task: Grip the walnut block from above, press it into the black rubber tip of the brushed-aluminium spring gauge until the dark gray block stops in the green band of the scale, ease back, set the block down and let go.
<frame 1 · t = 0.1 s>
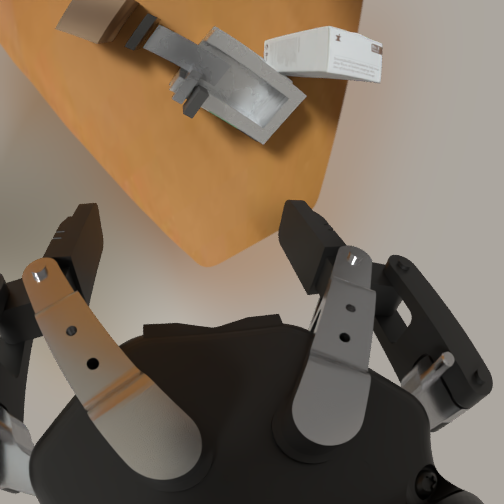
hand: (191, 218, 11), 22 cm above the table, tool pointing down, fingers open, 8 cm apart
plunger: (174, 59, 19), point 5 cm above the table, slide at 0.0 cm
skincare box: (287, 58, 26), on the table, touching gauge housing
dark gray block: (195, 100, 20), point 8 cm above the table, slide at 0.0 cm
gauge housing: (228, 76, 26), on the table
walnut block: (107, 14, 17), on the table
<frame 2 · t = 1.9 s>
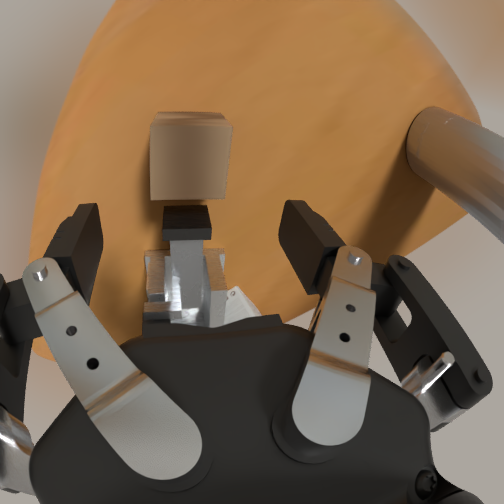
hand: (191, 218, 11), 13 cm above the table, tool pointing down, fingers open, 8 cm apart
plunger: (175, 272, 23), point 5 cm above the table, slide at 0.0 cm
skincare box: (233, 303, 35), on the table, touching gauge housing
dark gray block: (156, 327, 22), point 8 cm above the table, slide at 0.0 cm
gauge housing: (185, 285, 30), on the table
walnut block: (187, 140, 21), on the table
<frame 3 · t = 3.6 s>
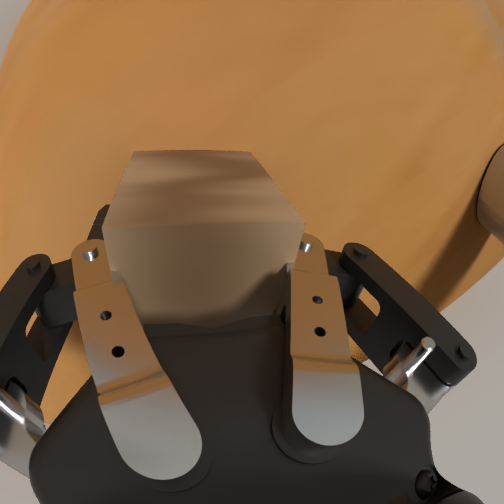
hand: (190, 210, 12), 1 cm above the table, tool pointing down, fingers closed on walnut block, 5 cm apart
walnut block: (190, 202, 12), on the table, touching gripper
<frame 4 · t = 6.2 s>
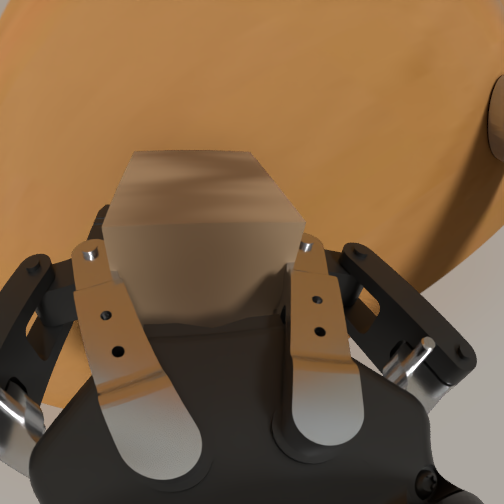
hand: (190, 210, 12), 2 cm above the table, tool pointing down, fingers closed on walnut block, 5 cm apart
walnut block: (190, 202, 12), point 1 cm above the table, touching gripper, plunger
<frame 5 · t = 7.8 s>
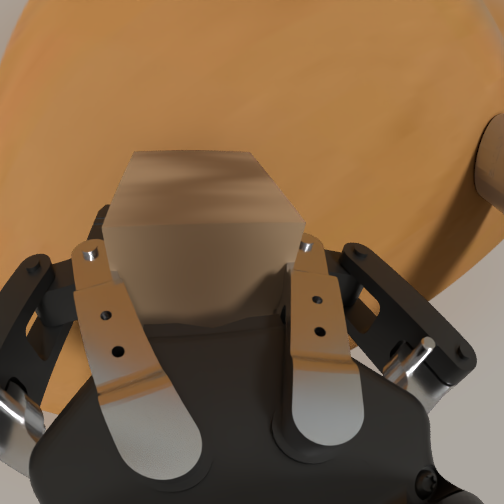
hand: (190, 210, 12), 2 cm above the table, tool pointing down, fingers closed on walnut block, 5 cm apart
walnut block: (190, 202, 12), point 1 cm above the table, touching gripper
when the fingers open (2 cm above the table, at t = 8.9 s): walnut block stays where it is, on the table.
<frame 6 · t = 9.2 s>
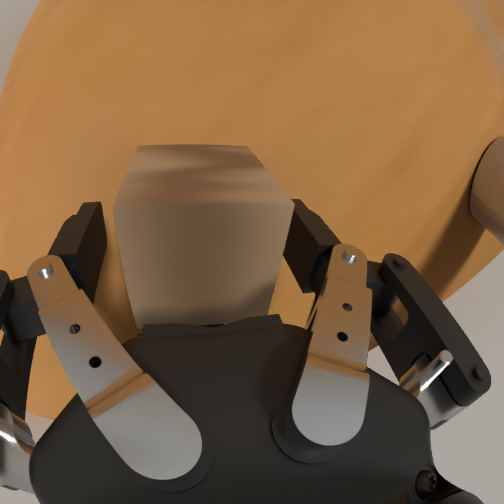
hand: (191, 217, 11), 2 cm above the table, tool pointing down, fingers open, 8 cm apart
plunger: (183, 395, 16), point 5 cm above the table, slide at 1.7 cm
walnut block: (190, 193, 13), on the table
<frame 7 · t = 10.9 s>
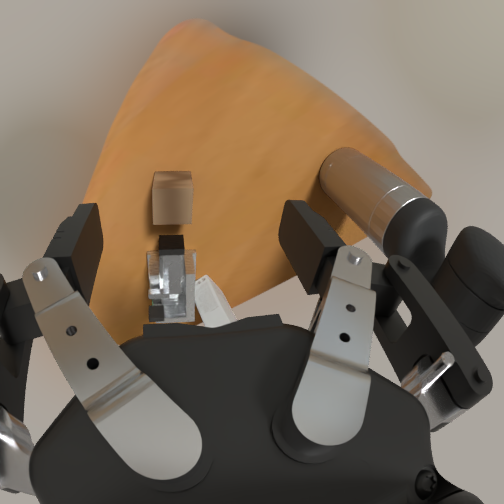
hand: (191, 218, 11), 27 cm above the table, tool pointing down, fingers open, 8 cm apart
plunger: (165, 272, 40), point 5 cm above the table, slide at 1.7 cm
skincare box: (205, 287, 51), on the table, touching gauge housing
dark gray block: (156, 313, 41), point 8 cm above the table, slide at 4.0 cm
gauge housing: (172, 273, 47), on the table
walnut block: (172, 187, 38), on the table
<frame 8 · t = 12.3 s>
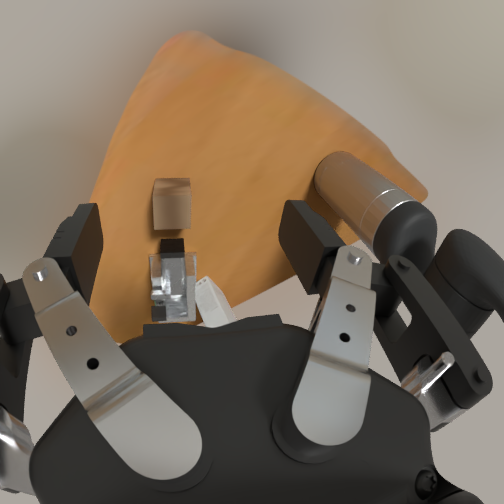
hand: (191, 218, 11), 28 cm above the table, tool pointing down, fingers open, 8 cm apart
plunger: (167, 274, 42), point 5 cm above the table, slide at 1.7 cm
skincare box: (206, 287, 53), on the table, touching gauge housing
dark gray block: (159, 313, 43), point 8 cm above the table, slide at 4.0 cm
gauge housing: (173, 275, 49), on the table
walnut block: (172, 193, 39), on the table
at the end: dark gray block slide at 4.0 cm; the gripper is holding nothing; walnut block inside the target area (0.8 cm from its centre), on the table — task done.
